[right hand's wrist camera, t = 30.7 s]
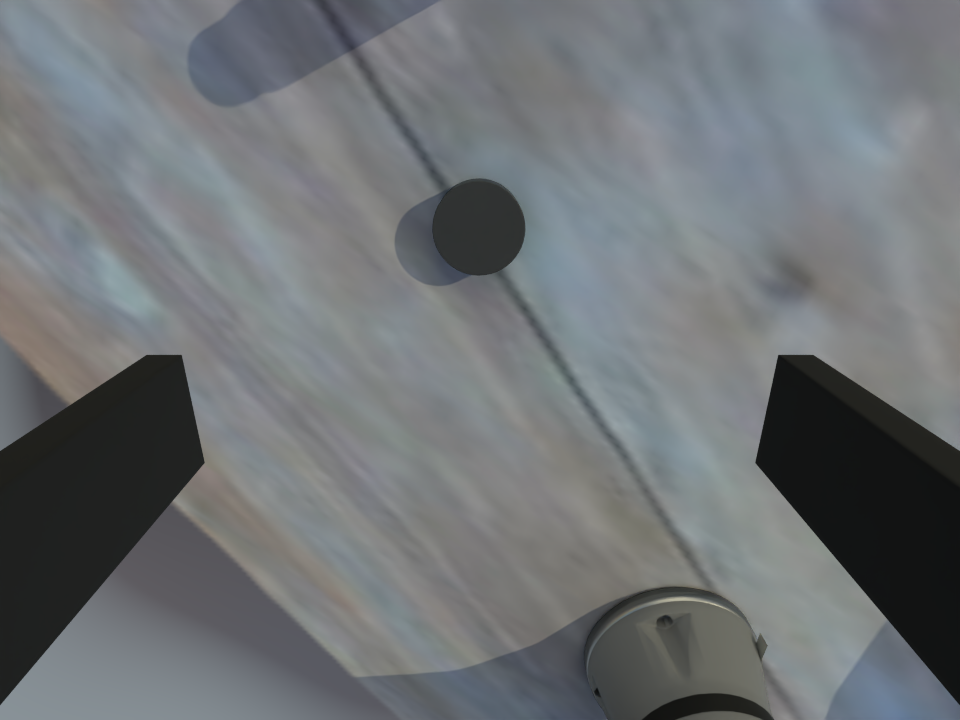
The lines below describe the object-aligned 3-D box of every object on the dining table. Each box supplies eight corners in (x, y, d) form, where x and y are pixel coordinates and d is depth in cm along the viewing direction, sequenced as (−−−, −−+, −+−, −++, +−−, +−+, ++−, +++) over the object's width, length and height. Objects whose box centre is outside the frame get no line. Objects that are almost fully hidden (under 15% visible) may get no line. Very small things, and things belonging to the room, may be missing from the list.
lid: (533, 192, 36) (536, 195, 34) (509, 276, 38) (510, 285, 36) (446, 168, 36) (444, 170, 33) (426, 255, 38) (423, 262, 36)
